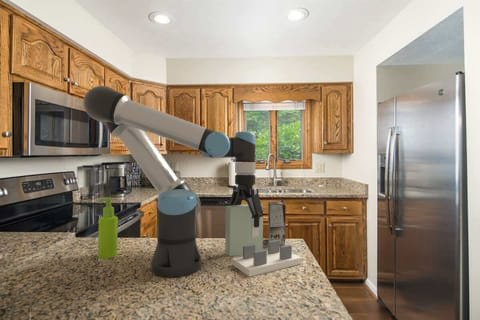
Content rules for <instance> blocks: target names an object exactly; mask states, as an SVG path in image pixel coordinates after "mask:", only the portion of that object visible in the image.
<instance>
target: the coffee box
mask: <svg viewBox="0 0 480 320" xmlns="http://www.w3.org/2000/svg"><path fill="white" fill-rule="evenodd" d="M267 203H268V204H267V205H268V207H267V239H269V240H268V241H273V240H279V246H285V245H286V216H287V215H286V210H287V209H286V203H284V202H283V201H267Z"/></svg>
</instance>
